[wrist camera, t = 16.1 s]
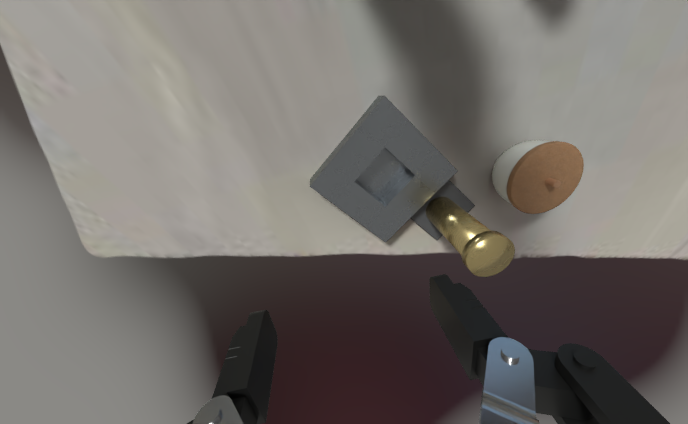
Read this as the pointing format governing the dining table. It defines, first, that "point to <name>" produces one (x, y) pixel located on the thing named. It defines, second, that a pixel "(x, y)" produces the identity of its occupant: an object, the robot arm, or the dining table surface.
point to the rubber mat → (445, 191)
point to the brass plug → (471, 238)
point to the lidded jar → (537, 174)
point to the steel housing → (382, 170)
